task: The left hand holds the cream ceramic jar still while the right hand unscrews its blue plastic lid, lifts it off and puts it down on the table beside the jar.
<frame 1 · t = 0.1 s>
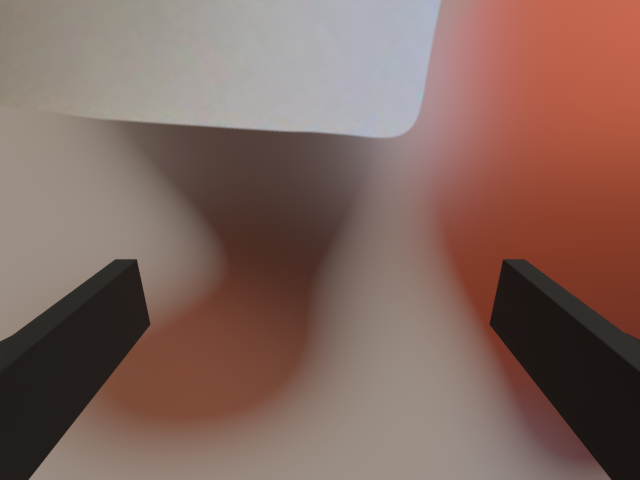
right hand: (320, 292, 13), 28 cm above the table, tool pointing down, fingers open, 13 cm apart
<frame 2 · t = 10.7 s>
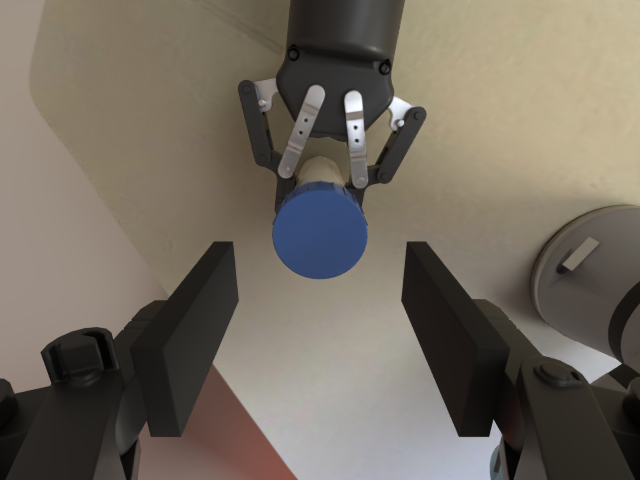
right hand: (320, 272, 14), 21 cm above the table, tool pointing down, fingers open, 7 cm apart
left hand: (315, 224, 29), fingers closed on jar, 4 cm apart
jar: (320, 177, 33), on the table, touching left hand
lid: (319, 234, 18), point 16 cm above the table, screwed on, not yet turned
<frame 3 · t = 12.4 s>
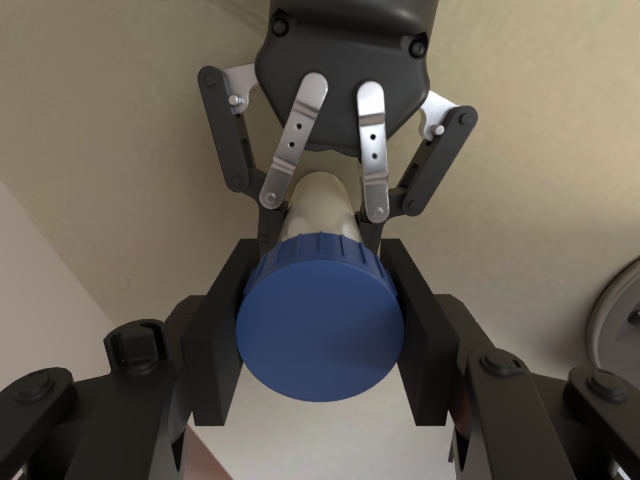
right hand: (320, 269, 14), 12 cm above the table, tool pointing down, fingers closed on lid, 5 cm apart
left hand: (314, 268, 21), fingers closed on jar, 4 cm apart
jar: (320, 199, 26), on the table, touching left hand
lid: (320, 330, 10), point 16 cm above the table, screwed on, not yet turned, touching right hand
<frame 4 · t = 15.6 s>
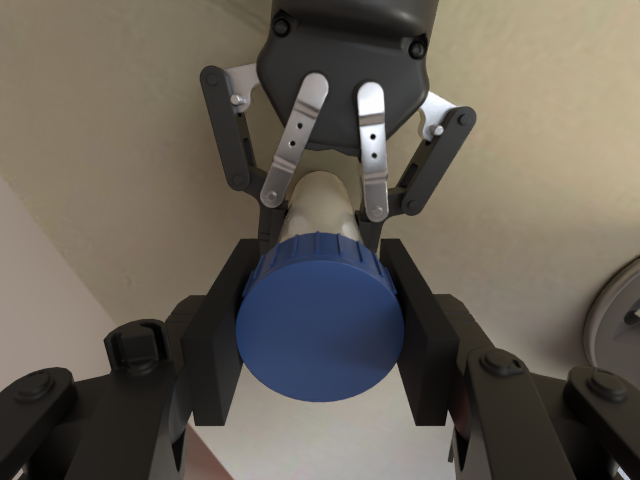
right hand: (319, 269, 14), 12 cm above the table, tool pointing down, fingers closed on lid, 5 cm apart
left hand: (314, 267, 21), fingers closed on jar, 4 cm apart
jar: (320, 198, 26), on the table, touching left hand
lid: (320, 330, 10), point 16 cm above the table, turned 97° so far, risen 0.2 cm, still on its thread, touching right hand
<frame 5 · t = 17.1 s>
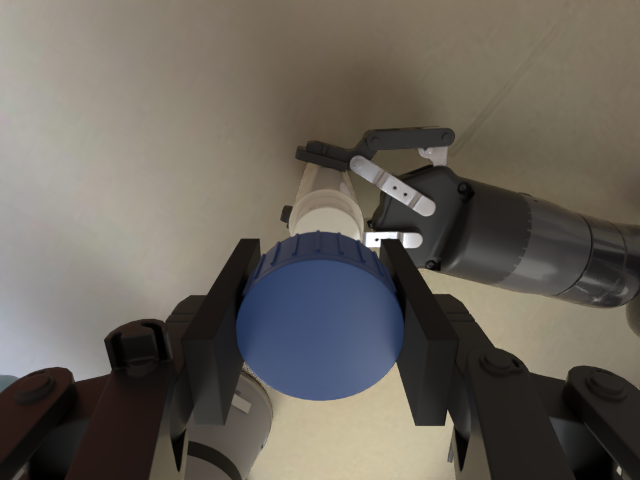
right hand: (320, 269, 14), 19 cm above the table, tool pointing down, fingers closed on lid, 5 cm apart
left hand: (290, 183, 26), fingers closed on jar, 4 cm apart
jar: (325, 176, 32), on the table, touching left hand
lid: (320, 329, 10), point 23 cm above the table, off its thread, touching right hand
when the right hand's fingers open (0 cm above the table, at t = 22.9 s): lid drops 2 cm, point 2 cm above the table.
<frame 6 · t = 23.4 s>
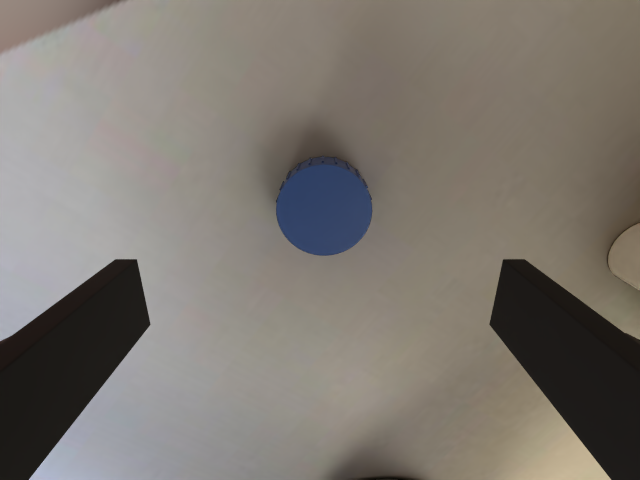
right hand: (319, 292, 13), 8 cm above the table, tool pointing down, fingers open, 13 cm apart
lid: (324, 210, 18), point 2 cm above the table, off its thread
when the left hand's fingers open (6 cm above the table, at t = 23.5 s): jar stays where it is, on the table.
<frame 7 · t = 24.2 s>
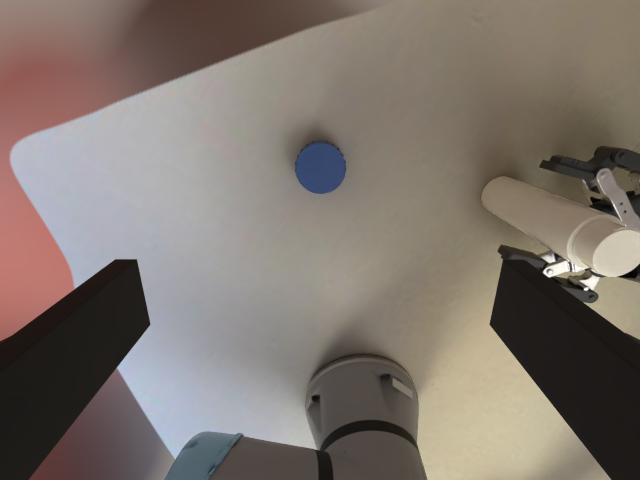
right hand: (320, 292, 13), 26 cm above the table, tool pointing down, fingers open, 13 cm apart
jar: (499, 194, 37), on the table
lid: (320, 168, 35), point 2 cm above the table, off its thread
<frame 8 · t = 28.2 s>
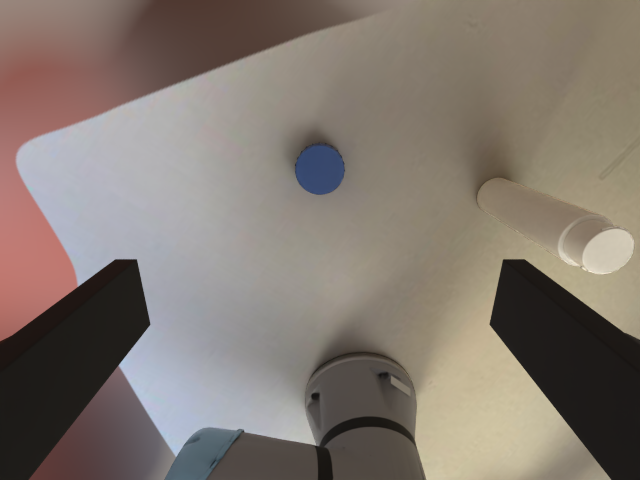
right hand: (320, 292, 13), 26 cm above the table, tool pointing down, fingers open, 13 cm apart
jar: (495, 195, 38), on the table
lid: (319, 170, 35), point 2 cm above the table, off its thread
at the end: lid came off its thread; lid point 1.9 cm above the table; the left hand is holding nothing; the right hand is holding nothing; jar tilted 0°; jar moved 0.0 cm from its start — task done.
